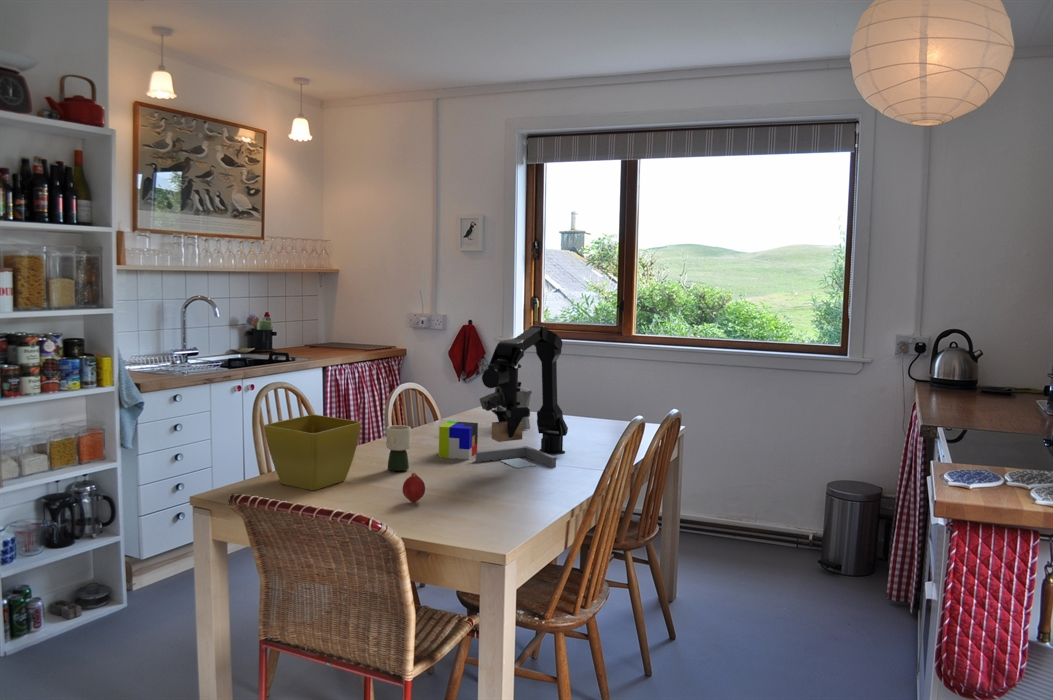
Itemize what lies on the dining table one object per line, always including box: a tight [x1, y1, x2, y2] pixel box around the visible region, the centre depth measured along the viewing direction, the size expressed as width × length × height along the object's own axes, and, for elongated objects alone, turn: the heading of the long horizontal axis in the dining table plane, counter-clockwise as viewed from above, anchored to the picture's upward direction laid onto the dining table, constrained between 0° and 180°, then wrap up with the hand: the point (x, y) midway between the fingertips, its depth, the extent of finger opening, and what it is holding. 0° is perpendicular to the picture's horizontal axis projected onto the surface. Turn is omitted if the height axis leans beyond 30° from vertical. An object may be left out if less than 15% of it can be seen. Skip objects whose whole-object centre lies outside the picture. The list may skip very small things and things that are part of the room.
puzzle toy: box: [438, 420, 479, 460], centre depth 253 cm, size 10×10×10 cm
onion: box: [402, 472, 426, 504], centre depth 200 cm, size 6×6×8 cm
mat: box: [499, 457, 537, 469], centre depth 244 cm, size 7×10×1 cm
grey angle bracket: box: [475, 445, 557, 468], centre depth 244 cm, size 19×17×3 cm
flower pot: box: [263, 414, 362, 491], centre depth 216 cm, size 19×19×17 cm
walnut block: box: [491, 421, 524, 443], centre depth 234 cm, size 8×4×5 cm, turn 120°
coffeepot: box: [516, 381, 533, 430], centre depth 299 cm, size 15×9×18 cm, turn 44°
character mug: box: [385, 424, 412, 473], centre depth 232 cm, size 11×7×13 cm, turn 168°
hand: (507, 435), depth 234 cm, fingers closed on walnut block, 5 cm apart
